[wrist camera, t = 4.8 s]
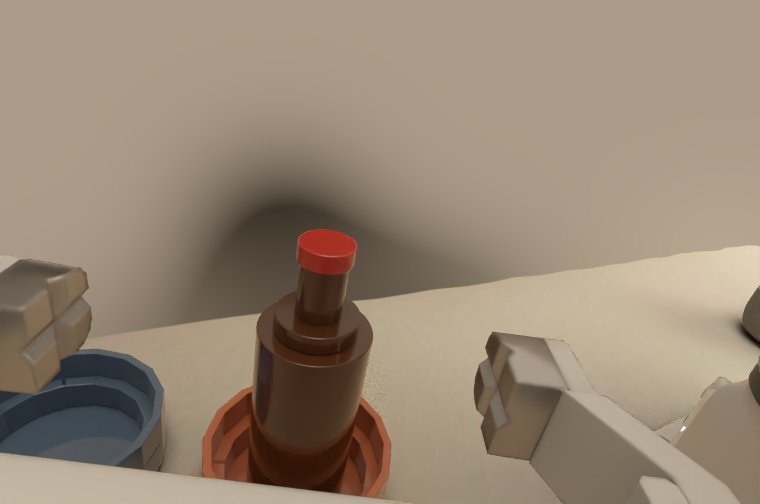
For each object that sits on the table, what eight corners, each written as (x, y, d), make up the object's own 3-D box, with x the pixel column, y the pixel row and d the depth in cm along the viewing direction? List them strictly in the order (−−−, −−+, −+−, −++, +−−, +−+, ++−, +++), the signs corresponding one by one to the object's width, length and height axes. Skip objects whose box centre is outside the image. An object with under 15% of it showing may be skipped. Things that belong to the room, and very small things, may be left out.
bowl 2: (317, 401, 37) (324, 357, 35) (412, 512, 30) (427, 465, 28) (174, 466, 30) (173, 416, 28) (254, 629, 23) (260, 578, 21)
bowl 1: (136, 378, 36) (132, 331, 34) (191, 488, 29) (190, 437, 27) (-57, 440, 29) (-76, 386, 27) (-44, 603, 22) (-69, 547, 20)
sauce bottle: (309, 432, 34) (342, 209, 26) (359, 497, 30) (416, 259, 22) (229, 471, 30) (239, 224, 22) (275, 551, 26) (308, 288, 18)
